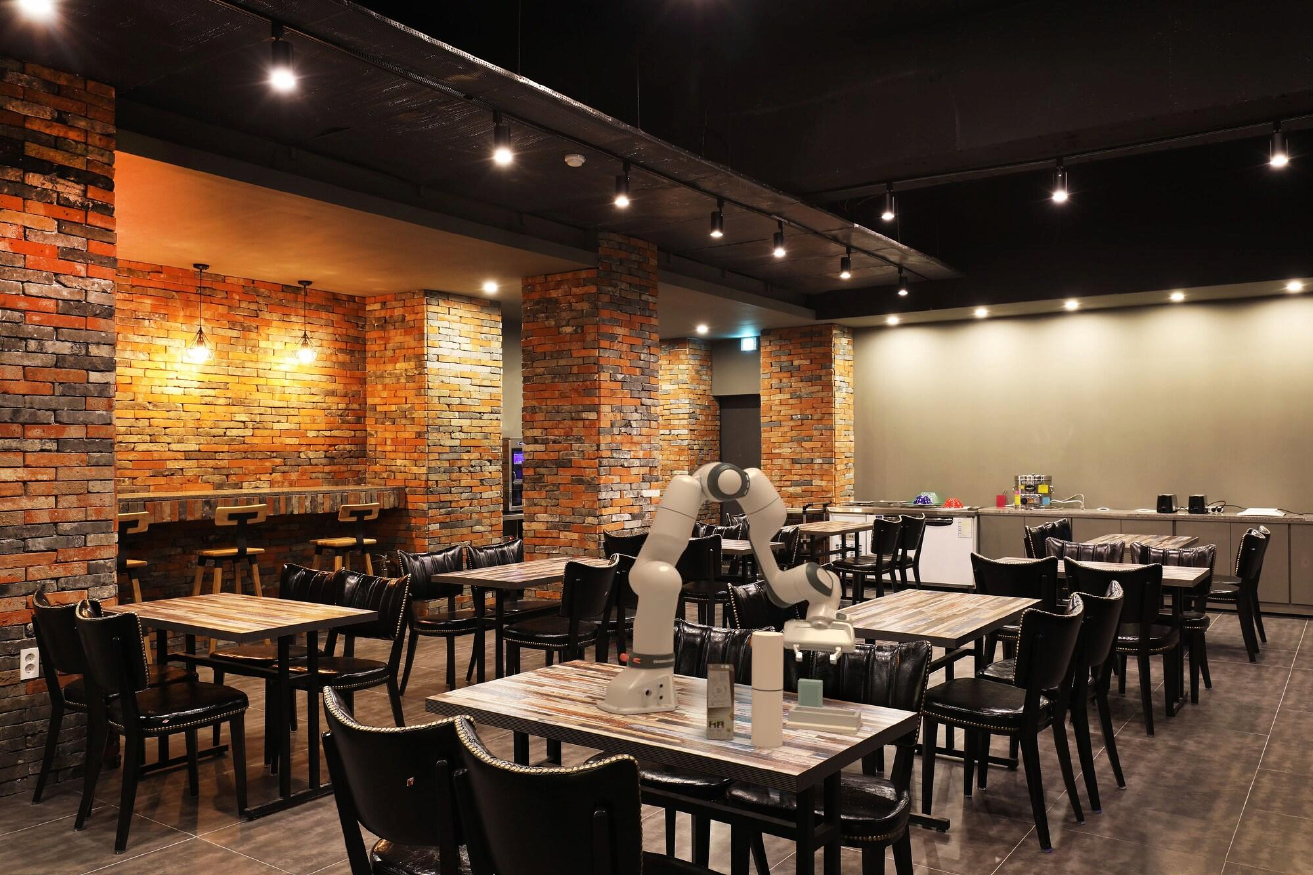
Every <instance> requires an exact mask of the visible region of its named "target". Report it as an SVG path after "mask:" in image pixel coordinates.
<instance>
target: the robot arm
mask: <svg viewBox="0 0 1313 875" xmlns="http://www.w3.org/2000/svg"><path fill="white" fill-rule="evenodd" d="M707 501H709V502H710V501H711V502H714V503H722V502H731V501H737V503H738V504H739V505H740V507H741V508H742V510H743V512H744V514H745V515H746V517H747V520H748V524H749V528H748V531H747V538H748V539H747V540H748V542H749V545H750V548H751V549H750V550H751V551H752V553H753V557H754V559H755V561H756V564H757V567H758V569H759V572H760V574H761V577H762V579H763V582H764V585H765V589H766V590H765V591H766V594H767V596H768V599H769V600H770V601H771V602H772V603H773V604H774V605H776V606H777V607H779V608H782V609H786V608H789V607H791V606H794V605H795V604H796V603H797V604H798V603H800V602H803V601H805V600H806V601H808V604H809V605H808V607H807V612H806V617H805V618H806V619H795V618H790V619H789V620H787V621H785V622H784V626H783V648H784V649H786V650H787V649H788V650H793V651H794V654H795V661H796V662H803V653H802V652H800V650H802V651H805V650H806V651H816V652H817V651H818V652H829V653H831V652H832V653H833V652H834V654H830V658H829V661H830V664H831V665H832V664H833V665H837V661H838V659H839V658H840V657H841V656H842V653H847V654H852V653H854V652H855V651H856V636H855V635H856V634H855V629H854V624H853V620H852V617H851V615H850V614H847V613H844V612H841V611H839V607H840V604H841V595H842V590H841V587H842V586H841V581H840V578H839V576H837V575H836V573H834V572H833V571H830V570H827V569H826V568H824V567H822V566H821V565H820V564H818V563H816V562H813V561H810V562H807V563H803V564H801V565H798V566H795V567H794V568H790V569H788V570H784V571H783V570H781V569H780V568H779V567H778V564H777V562H776V559H775V557H774V554H773V552H772V550H771V540H772V539H773V538H774V537H775V536H776V535H777V533H778V532H779V531H780V530H781V529H782V528H783V526H784V524H785V522H786V520H787V516H788V515H787V514H788V511H787V508H786V504H785V503H784V501H783V498H782V497H781V495H780V494H779V492H778V491H777V489H776V487H775V486H774V485H773V483H772V482H771V481H770V479H769V478H768V477H767V475H766V474H765V473H764V471H762V470H761V469H759V468H757V467H749V468H745V469H742V468H739V467H738V466H737V465H735V464H733V463H730V462H729V463H728V462H721V461H720V462H718V461H717V462H709V463H705V464H703V465H701V466H699V467H698V468H696V469H695V470H694V471H693V472H692V473H691V474H690V475H688V474H678V475H675V476H673V477H672V478H671V479H670V481H669V482H668V484H667V486H666V488H665V490H664V492H663V495H662V496H661V499H660V501H659V505H658V507H657V508H656V509H657V510H656V513H655V516H654V519H653V522H652V525H651V527H650V530H649V532H648V535H647V537H646V539H645V541H644V543H643V544H642V547H641V549H640V551H639V553H638V555H637V556H636V559H635V561H634V563H633V565H632V567H631V568H630V570H629V573H628V582H629V585H630V587H631V589H632V591H633V592H634V593H635V594H636V595H637V596H638V602H637V607H636V608H637V609H636V613H635V617H634V619H633V624H632V625H633V629H632V630H633V632H632V635H633V636H632V639H633V640H632V651H631V652H630V654H627V653H621V654H620V656H619V658H620V660H621V661H622V662H626V663H627V664H626V666H625V667H624V669H622V670H621V671H620V672H619V673H618V674H616V676H614V677H613V678H612V679H611V680H610V681H609V682H608V683H607V685H606V689H605V696H604V697H605V698H604V700H600V701H597V702H596V707H597V708H598V709H600V710H603V711H606V712H609V713H613V714H618V715H633V714H634V715H635V714H637V715H638V714H646V713H659V712H671V711H672V712H673V711H675V710H676V707H678V706H679V701H678V697H677V693H676V686H675V675H674V669H675V665H676V664H675V663H676V661H675V660H676V654H675V652H674V629H675V628H674V627H675V619H676V614H677V612H676V611H677V607H678V602H679V594H680V593H681V591H682V587H683V580H682V577H681V575H680V573H679V571H678V570H677V568H676V565H677V563H678V561H679V559H680V558H681V555H682V554H683V552H684V551H685V550H686V549H687V547H688V544H689V541H690V539H691V535H692V532H693V530H694V528H695V524H696V521H697V518H698V515H699V514H698V513H699V510H700V509H701V507H702V505H703V504H704V503H705V502H707Z"/></svg>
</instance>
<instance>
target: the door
mask: <svg viewBox="0 0 1313 875" xmlns="http://www.w3.org/2000/svg"><path fill="white" fill-rule="evenodd" d="M823 685H824V682H823V680H821V679H807V678H799V680H797V705H798V706H809V707H821V708H824V707H823V706H824V704H823V702H824V701H823V699H824V697H823V692H824V691H823V688H824V687H823Z"/></svg>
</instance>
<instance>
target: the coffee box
mask: <svg viewBox="0 0 1313 875" xmlns="http://www.w3.org/2000/svg"><path fill="white" fill-rule="evenodd" d="M706 672H707V673H706V739H707V740H726V741H727V740H731V741H732V740H734V735H735V734H734V732H735V731H734V724H735V722H734V721H735V719H734V718H735V668H734V664H733V663H732V664H731V663H708V664H707V671H706Z"/></svg>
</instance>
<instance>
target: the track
mask: <svg viewBox="0 0 1313 875" xmlns="http://www.w3.org/2000/svg"><path fill="white" fill-rule="evenodd" d="M861 723H862V724H863V718H862V710H854V709H843V708H842V709H841V708H831V707H830V708H828V707H823V708H821V707H809V706H798V704H797V705H795V704H794V705H792V706H791V708H789V710H787V722H786V723H785V728H787V729H797V730H805V731H806V730H807V731H817V732H826V733H838V734H849V735H857V733H858V732H859V730H860V728H861V726H862V724H861ZM860 725H861V726H860ZM859 727H860V728H859ZM858 729H859V730H858Z"/></svg>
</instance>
